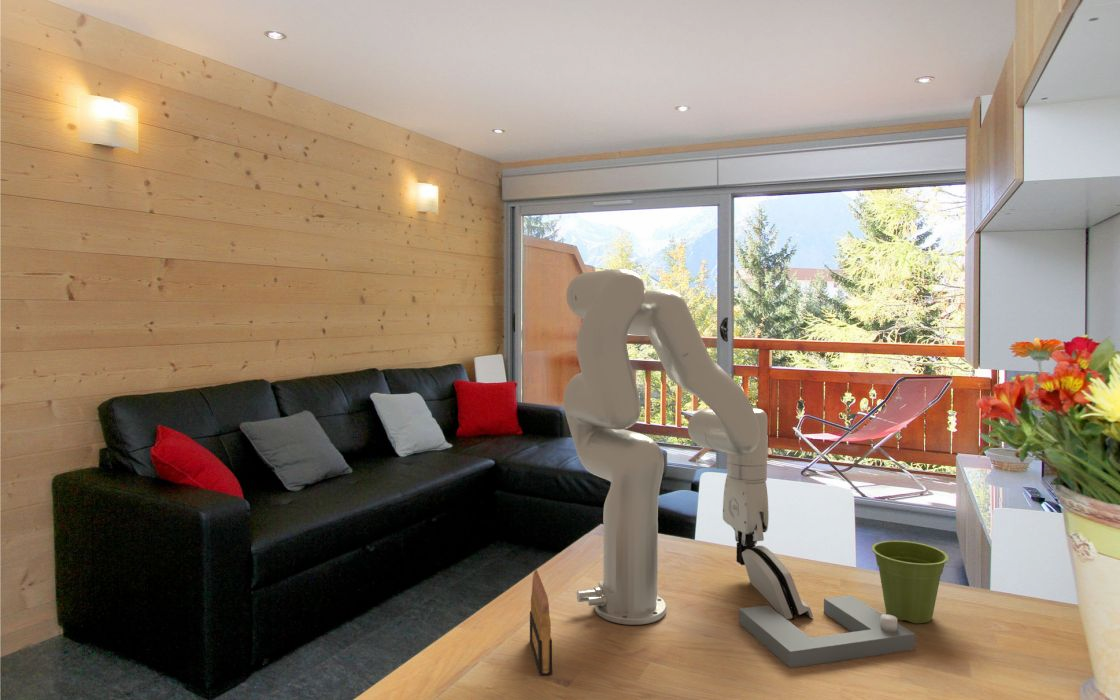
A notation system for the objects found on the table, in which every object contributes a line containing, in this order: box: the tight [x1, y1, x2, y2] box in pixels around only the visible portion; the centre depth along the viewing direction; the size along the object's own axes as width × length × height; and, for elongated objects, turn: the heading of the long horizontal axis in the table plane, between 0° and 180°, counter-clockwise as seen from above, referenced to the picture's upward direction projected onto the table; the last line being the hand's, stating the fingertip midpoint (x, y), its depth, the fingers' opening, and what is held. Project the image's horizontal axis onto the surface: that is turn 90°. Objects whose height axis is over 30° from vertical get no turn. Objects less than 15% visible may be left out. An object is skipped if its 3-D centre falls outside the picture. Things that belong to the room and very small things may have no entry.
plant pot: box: [871, 540, 949, 624], centre depth 117 cm, size 12×12×11 cm
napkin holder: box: [529, 569, 553, 676], centre depth 103 cm, size 11×2×12 cm, turn 10°
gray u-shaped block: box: [738, 594, 916, 669], centre depth 110 cm, size 22×15×4 cm
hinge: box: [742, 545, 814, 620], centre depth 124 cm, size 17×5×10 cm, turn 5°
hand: (745, 562), depth 133 cm, fingers closed
